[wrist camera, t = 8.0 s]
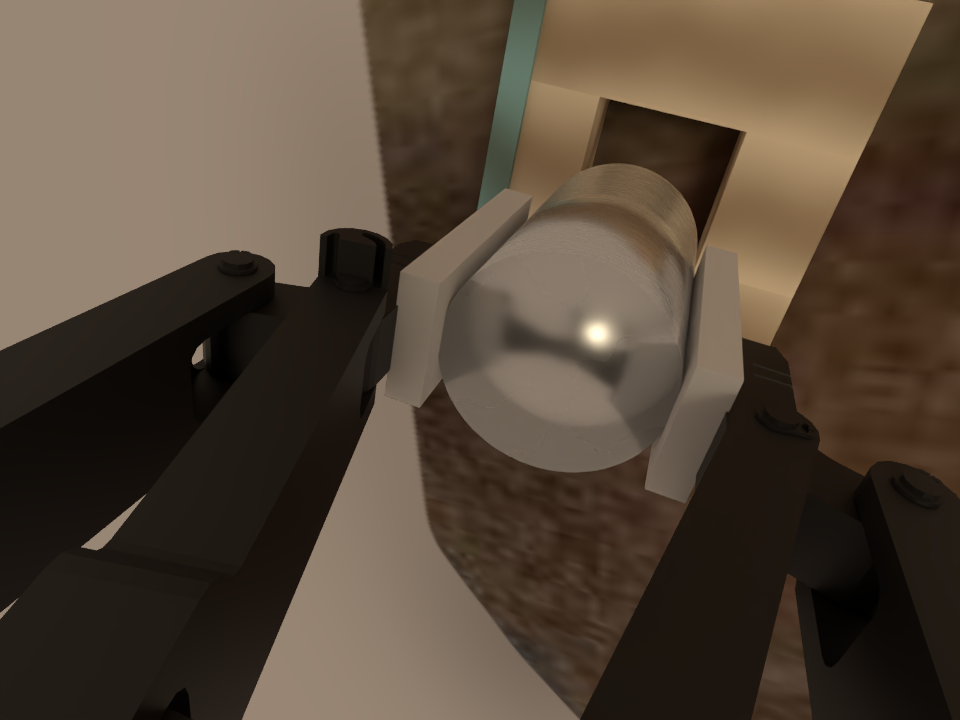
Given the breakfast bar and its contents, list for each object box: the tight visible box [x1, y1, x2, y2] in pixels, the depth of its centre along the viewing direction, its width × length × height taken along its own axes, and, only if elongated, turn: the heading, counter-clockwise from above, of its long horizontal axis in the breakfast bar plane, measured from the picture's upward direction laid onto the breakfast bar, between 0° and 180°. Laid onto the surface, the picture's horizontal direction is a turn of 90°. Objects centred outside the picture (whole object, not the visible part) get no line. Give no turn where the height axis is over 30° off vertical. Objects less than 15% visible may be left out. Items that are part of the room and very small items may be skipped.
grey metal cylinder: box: [439, 163, 698, 472], centre depth 15 cm, size 5×5×8 cm
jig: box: [477, 0, 933, 346], centre depth 28 cm, size 16×14×4 cm
